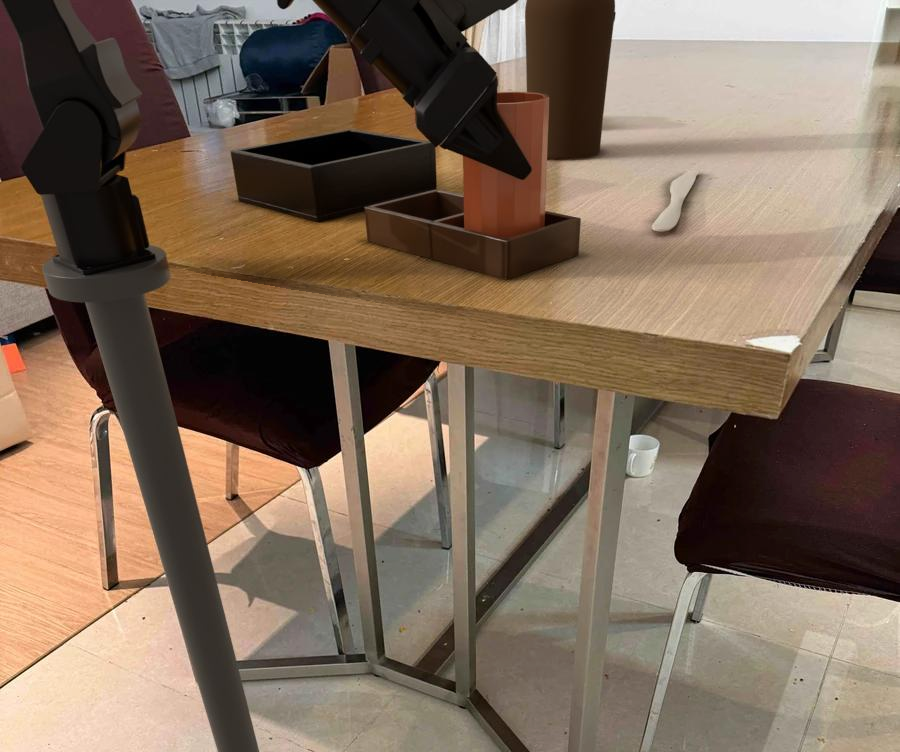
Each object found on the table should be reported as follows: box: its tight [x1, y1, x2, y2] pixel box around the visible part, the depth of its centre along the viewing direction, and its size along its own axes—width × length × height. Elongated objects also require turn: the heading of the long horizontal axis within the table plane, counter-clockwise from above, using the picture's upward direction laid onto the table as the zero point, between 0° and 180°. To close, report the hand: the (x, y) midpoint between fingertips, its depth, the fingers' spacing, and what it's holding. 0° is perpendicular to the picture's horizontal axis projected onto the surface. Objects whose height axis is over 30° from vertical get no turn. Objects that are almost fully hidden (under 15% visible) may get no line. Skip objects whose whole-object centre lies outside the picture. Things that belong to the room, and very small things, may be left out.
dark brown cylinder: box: [524, 0, 617, 160], centre depth 101 cm, size 11×11×25 cm
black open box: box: [230, 128, 438, 223], centre depth 92 cm, size 17×15×5 cm
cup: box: [462, 91, 549, 238], centre depth 69 cm, size 7×7×12 cm
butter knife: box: [651, 169, 700, 232], centre depth 87 cm, size 1×27×3 cm
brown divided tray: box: [364, 188, 582, 280], centre depth 75 cm, size 9×18×3 cm, turn 44°
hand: (521, 165), depth 69 cm, fingers open, 7 cm apart
